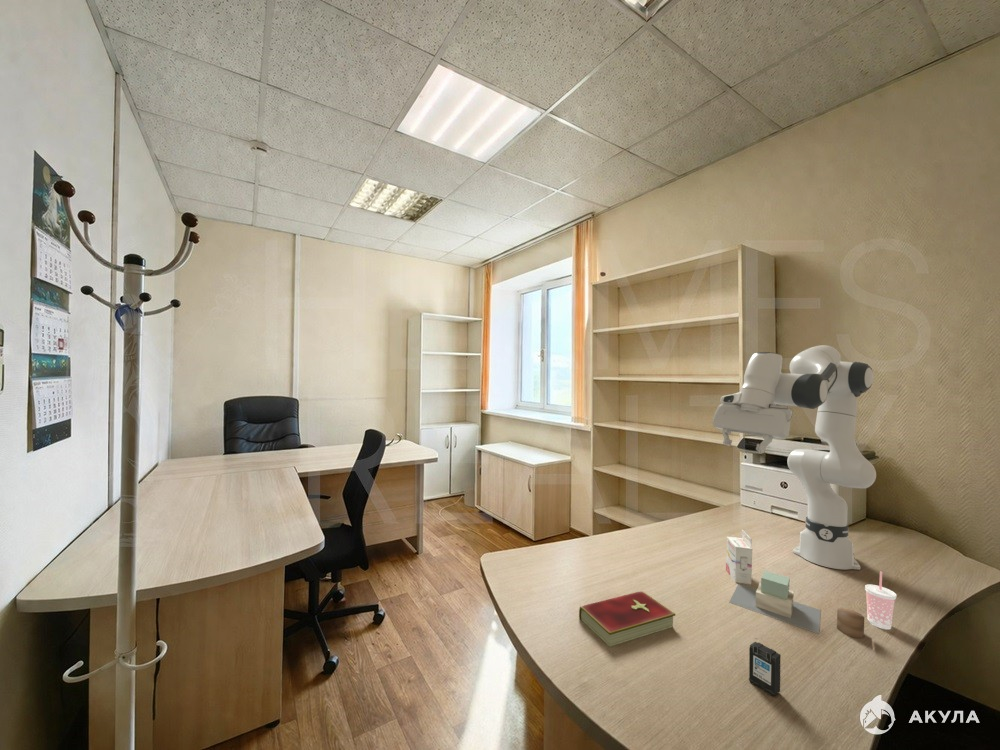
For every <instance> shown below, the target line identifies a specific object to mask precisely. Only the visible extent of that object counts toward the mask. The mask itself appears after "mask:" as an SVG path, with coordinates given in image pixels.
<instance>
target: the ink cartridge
mask: <svg viewBox="0 0 1000 750" xmlns="http://www.w3.org/2000/svg"><path fill="white" fill-rule="evenodd" d="M748 649H749V650H748V651H749V662H748V663H749V665H748V667H749V670H748V671H749V674H748V675H749V676H748V680H749V683H750V684H752V685H754V686H756V687H757V688H759V689H760V690H762V691H763V692H766V693H767V695H768V694H769V695H770V696H772V697H775V696H776V695H777V694H779V693H780V692H781V654H779V653H778V652H777V651H775V650H774V649H772V648H770V647H769V646H768V647H767V646H766V645H764V644H763V643H761V642H757V641H754V642H752V643H751V644H750V645H749V647H748Z"/></svg>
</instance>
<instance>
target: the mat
mask: <svg viewBox="0 0 1000 750" xmlns="http://www.w3.org/2000/svg"><path fill="white" fill-rule="evenodd" d="M756 591H757V589H756V588H753V587H750V586H747V585H743V584H742V583H738V584H737V586H736V588H735V589H734V592H733V593H732V596H731V598H730V599H729V600H728V603H729V604H732V605H735V606H738V607H740V608H744V609H747V610H749V611H752V612H755V613H758V614H762V615H763V616H767V617H769V618H772V619H775V620H777V621H781V622H783V623H786V624H790V625H792V626H795V627H798V628H801V629H803V630H807V631H810V632H812V633H815V634H818V635H819V634H820V628H821V627H820V625H821V614H822V613H821V612H822V609H819V608H816V607H812V606H809V605H806V604H803V603H801V602H797V601H794V602H793V610H792V615H791V618H788V617H785V616H782V615H779V614H776V613H774V612H771V611H768V610H765V609H762V608H759V607H756Z"/></svg>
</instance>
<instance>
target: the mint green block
mask: <svg viewBox="0 0 1000 750" xmlns="http://www.w3.org/2000/svg"><path fill="white" fill-rule="evenodd" d="M790 579H791V577H788V576H786V575H782V574H779V573H775V572H773V571H768V570H765V569H764V570H763V572H762V575H761V577H760V581H761V592H762V593H765V594H769V595H772V596H775V597H778V598H781V599H784V600H787V598H788V594H789V590H790V582H791V581H790Z"/></svg>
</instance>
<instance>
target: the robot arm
mask: <svg viewBox="0 0 1000 750" xmlns="http://www.w3.org/2000/svg"><path fill="white" fill-rule="evenodd" d="M782 367H783V356H782V355H781V354H780V353H776V352H770V351H757V352H755V353H753V354H752V355H751V356H750V358H749V360H748V363H747V365H746V368H745V372H744V375H743V385H742V386H741V387H740V388H739V389H740V390H739V392H736V393H732V394H727V395H723V396H721V397H720V403H721V404H719V405H718V406H717V407H716V410H715V412H714V414H713V418H712V423H711V424H712V426H713V428H715V429H717V430H722V431H721V433H722V436H723V441H722V442H723V443H722V444H723V445H725V446H729V447H730V446H731V445H732V442H733V440H732V439H730V435H731V434H732V432H733V433H740V434H745V435H746V434H747V435H753V436H758V437H759V436H760V437H762V439H763V440H762V441H761V442H760V443H756V447H755V451H757V452H761V453H764V452H765V451H766V448H767V447H768V445H770V444H771V443H772V441H773V438H774V439H778V440H786V439H787V438H789V437H790V431H791V420H792V419H793V416H794V411H793V409H792V408H791V407H800V408H804V409H805V408H806V409H810V410H815V409H817V410H816V411H817V413H816V419H815V423H814V424H815V426H814V432H815V434H816V437H818V438H819V439H821V440H822V441H824V442H826V443H827V445H828V447H829V451H823V450H817V449H813V448H812V449H810V448H797V449H796V448H795V449H794V450H791V452H790V453H789V455H788V456H787V460H786V461H787V463H786V464H787V467H788V469H789V470H790V472H791V473H792V474H793V475H794V476H795V477H797V479H798V480H799V482H800V483H801V485H802V487H803V489H804V491H805V494H806V500H807V516H806V517H805V528H804V529H803V530H802V531H800V532H799V544H798V545H797V546H795V548H793V550H792V553H793V554H795V555H798V556H800V557H802V559H804V560H807V561H808V562H811V563H813V564H816V565H818V566H822V567H826V568H830V569H834V570H845V571H846V570H859V571H860V570H861V569H862V568H861V565H860V564H859V562H858V561H857V559H856V558H855V557H854V556H855V553H854V547H855V546H854V543H853V541H851V539H850V538H849V532H850V529H849V524H848V504H847V502H846V500H845V499H844V498H843V497H842V496H840V495H839V494H838V493H836V492H835V491H834V490H833V488H832V486H831V485H835V486H841V487H845V488H849V489H850V488H851V489H868V488H870V487H871V486H872V485H873V484H874V483H875V482H876V479H877V471H876V468H875V466H874V465H873V464H872V462H870V461H869V460H868V459H867V458H866V457H865V456H864V455H863V454H862V453H861V451H860V449H859V448H858V445H857V442H856V426H857V417H858V398H859V397H860V396H861V395H862V394H864V393H866V392H867V391H868V390H870V389H871V387H872V385H873V382H874V378H875V375H874V372H873V369H872V367H871V366H870V364H868V363H865V362H860V361H853V362H852V361H842V355H841V353H840V351H838V350H837V349H836V348H835V347H833V346H830V345H827V344H822V345H815V346H812V347H808V348H806V349H804V350H803V351H800V352H798V353H797V354H796V355H794V357H792V359H791V361H790V362H789V371H790V373H789V372H788V373H787V372H786V373H785V372H782ZM830 484H831V485H830Z"/></svg>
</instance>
